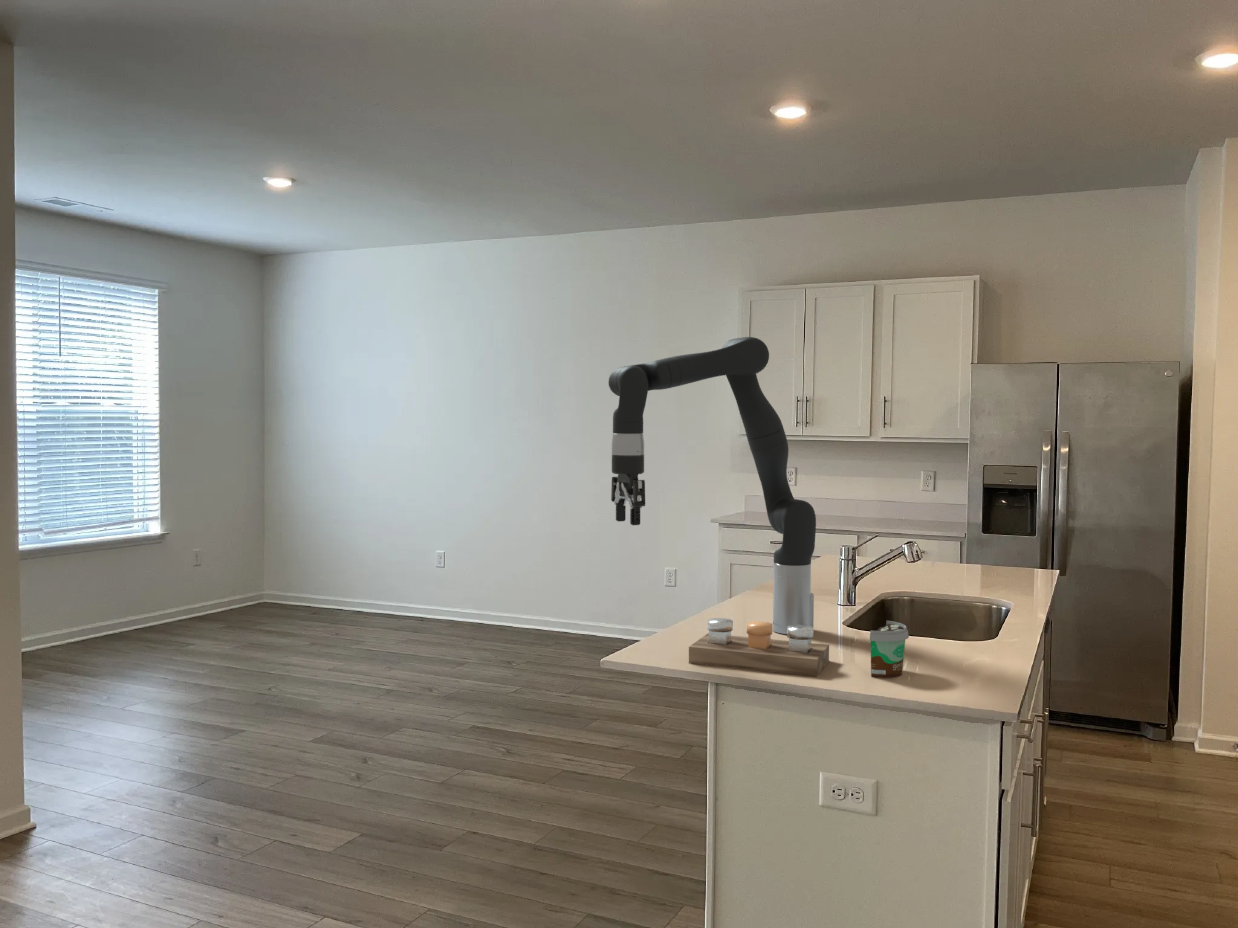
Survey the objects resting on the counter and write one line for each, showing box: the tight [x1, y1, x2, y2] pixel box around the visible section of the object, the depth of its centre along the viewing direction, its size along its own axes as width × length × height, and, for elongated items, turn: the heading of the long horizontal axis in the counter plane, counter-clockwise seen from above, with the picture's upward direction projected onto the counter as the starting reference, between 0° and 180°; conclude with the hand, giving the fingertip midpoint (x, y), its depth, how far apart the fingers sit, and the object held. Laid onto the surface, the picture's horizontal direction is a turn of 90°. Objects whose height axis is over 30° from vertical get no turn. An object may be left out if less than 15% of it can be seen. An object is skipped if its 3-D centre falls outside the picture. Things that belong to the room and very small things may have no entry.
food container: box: [869, 620, 910, 679], centre depth 206 cm, size 12×6×10 cm, turn 148°
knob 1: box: [707, 617, 734, 645], centre depth 218 cm, size 6×6×5 cm
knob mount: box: [688, 632, 830, 677], centre depth 215 cm, size 14×28×4 cm, turn 68°
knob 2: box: [786, 625, 814, 653], centre depth 212 cm, size 6×6×5 cm
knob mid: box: [746, 620, 773, 649], centre depth 215 cm, size 6×6×5 cm
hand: (627, 523), depth 226 cm, fingers open, 8 cm apart
